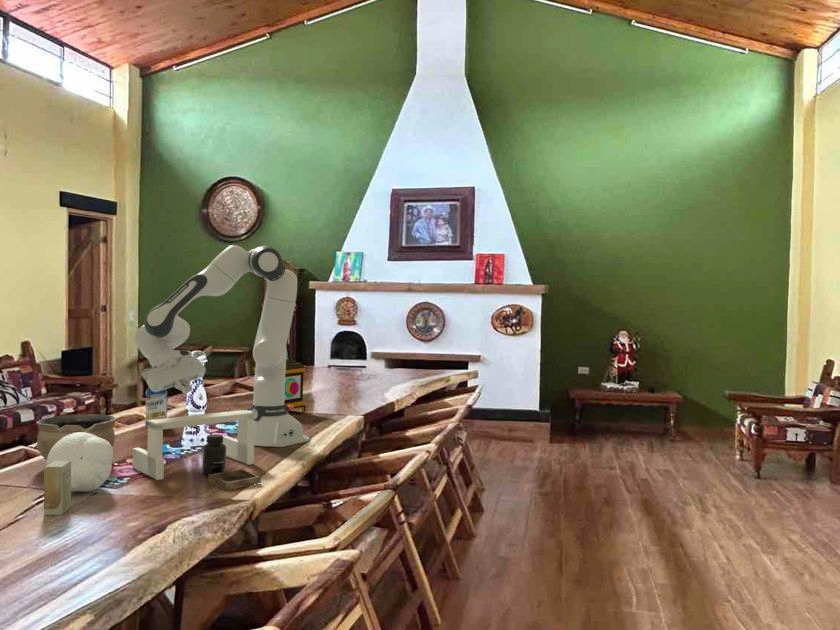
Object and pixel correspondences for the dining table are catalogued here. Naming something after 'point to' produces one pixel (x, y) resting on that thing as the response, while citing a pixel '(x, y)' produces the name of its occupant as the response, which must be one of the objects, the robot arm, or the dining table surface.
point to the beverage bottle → (156, 405)
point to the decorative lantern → (293, 384)
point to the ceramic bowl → (73, 429)
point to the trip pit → (233, 479)
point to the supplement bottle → (214, 455)
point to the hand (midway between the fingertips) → (188, 391)
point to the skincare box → (57, 487)
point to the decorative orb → (84, 459)
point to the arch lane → (235, 449)
